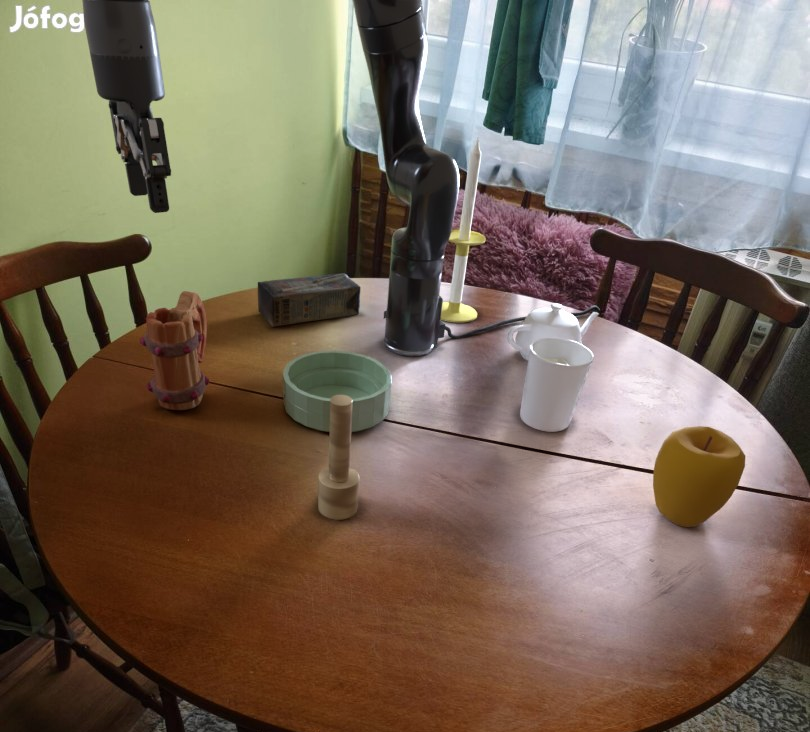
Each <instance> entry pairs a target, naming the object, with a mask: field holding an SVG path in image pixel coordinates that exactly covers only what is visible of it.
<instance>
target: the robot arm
mask: <svg viewBox="0 0 810 732" xmlns="http://www.w3.org/2000/svg"><path fill="white" fill-rule="evenodd" d="M81 2H82V13H83V22H84V29H85V34H86V40H87V45H88V50H89V57H90V61H91V66H92V71H93V77H94V80H95V82H94V83H95V87H96V92H97V95H98V96H99V97H100V98H101V99H103V100H106V101H108V108H109V113H110V119H111V124H112V130H113V137H114V142H115V150H116V152H117V154H118V155H120V159H121V160H122V162H123V163H124V166H125V172H126V177H127V183H128V189H129V193H130V194H131V195H132V196H134V197H139V196H142V197H143V196H147V198H148V200H147V201H148V205H149V210H150V211H151V212H152V213H154V214H159V213H167V212H169V210H170V203H169V202H170V201H169V195H168V190H167V182H166V179H167V178H168V177H171V176H172V169H171V164H170V163H171V162H170V158H169V152H168V144H167V138H166V133H165V132H166V131H165V123H164V121H163V118H162V117H154V115H153V111H152V108H151V103H152V102H158V101H162V100H163V99H164V98H165V95H166V91H165V85H164V84H165V83H164V77H163V76H164V75H163V70H162V63H161V56H160V55H161V54H160V48H159V42H158V35H157V28H156V22H155V18H154V15H153V10H152V5H151V1H150V0H81ZM352 3H353V9H354V14H355V21H356V25H357V30H358V34H359V38H360V43H361V48H362V52H363V56H364V59H365V63H366V66H367V71H368V77H369V81H370V86H371V90H372V96H373V100H374V104H375V108H376V112H377V118H378V123H379V129H380V136H381V147H382V154H383V161H384V170H385V174H386V181H387V184H388V187H389V190H390V192H391V194H392V195H393V197H394V199H396V200H397V201H399V202H400V203H402V204H403V205H405V206H407V207H409V214H408V221H407V225H406V226H405V227H401V228H397V229H396V230H395V231H393V234H392V236H391V245H390V257H389V258H390V260H389V275H388V287H387V300H386V301H387V302H386V309H385V310H383V320H385V326H384V337H383V346H384V348H386V349H387V350H388V351H390V352H392V353H394V354H397V355H401V356H405V357H420V356H421V357H422V356H425V355H428V354H430V353H431V352H432V351H433V350H434V349H435V348H438V343H439V339H441V338H444V337H445V332H447V336H448V337H449V338H451V339H461V338H467V337H470V336H473V335H476V334H478V333H483V332H486V331H489V330H491V329H494V328H497V327H500V326H504V325H507V324H513V323H517V322H523V321H524V320H525V318H526V317H527V316H528V315H526V316H521V317H516V318H510V319H506V320H501V321H498V322H494V323H492V324H489V325H486V326H482V327H479V328H476V329H473V330H470V331H468V332H465V333H463V334H453V333H452V329H451V328H450V327H449V326H448V325H446V323H445V322H443V321H442V320H441V312H442V304H443V302H444V299H443V297H442V296H441V295H440V292H441V284H442V274H443V266H444V257H445V251H446V247H447V244H448V242H449V241H448V240H449V238H450V236H451V232H452V229H454V226H453V225H454V222H455V216H456V211H457V204H458V198H459V191H460V170H459V167H458V163H457V162H456V160H455V159H454V158H453V157H452V156H451V155H449V154H448V153H446V152H444V151H442V150H438V149H437V148H434V147H431V146H429V145H428V143H427V140H426V136H425V133H424V128H423V123H422V117H421V111H420V94H421V87H422V85H423V84H422V83H423V80H424V76H425V71H426V66H427V60H428V51H429V50H428V48H429V45H428V44H429V43H428V34H427V27H426V20H425V14H424V7H423V1H422V0H352ZM153 161H154V162H155V163H156V164H154V163H153ZM593 310H595V312H600V311H601V309H600V308H599V306H597V305H592V306H589V308H587V309H585V310H583V311H577V312H569V313H570V314H572V315H574V316H575V317H579V316H584V315H587V314H589V313H590V312H592V311H593Z"/></svg>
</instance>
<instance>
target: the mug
mask: <svg viewBox="0 0 810 732" xmlns="http://www.w3.org/2000/svg"><path fill="white" fill-rule="evenodd" d="M145 320H146V327H147V328H146V329H147V331H146V332H145V333H144V335H143V336H142V337H141V338H140V339H139V344H140V345H142V346H144V347H145V348H146V349H147V350H148V352H150V355H151V356H150V357H151V361H152V366H153V372H154V375H153V376H152V378H151V380H150V382H148V383H147V384H146V385H145V388H146V389H147V391H149V392H150V393H153V395H154V396H155V398H156V399H157V400H158V404H159V405H160V406H161V407H162V408H164V409H167V410H171V411H187V410H191V409H194V408H196V407H197V406H198V405H200V404H201V402H202V400H203V397H204V396H203V395H204V392H205V391H206V387H207V385H209V383H210V378H209V377H208V376H206V375H205V374H204V372H203V371H202V370H201V369H200V365H199V364H202V363H203V362H204V355H205V351H206V345H207V334H208V333H207V332H208V331H207V329H208V323H207V320H208V319H207V313H206V308H205V306H204V302H203V301H202V298H201V297H200V295H199V294H198V293H197V292H194V291H188V290H184V291H181V292H180V294H179V297H178V300H177V302H176V305H175V307H172V308H170V309H168V308H166V307H160V308H157V309H155V310H154V312H152V311H149V313H147V315H146V317H145Z"/></svg>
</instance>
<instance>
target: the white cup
mask: <svg viewBox="0 0 810 732" xmlns="http://www.w3.org/2000/svg"><path fill="white" fill-rule="evenodd" d="M593 362H594V353H593V351H591V349H590V348H588V347H587V346H586V345H583V344H580V343H577V342H575V341H572V340H568V339H563V338H554V337H548V338H541V339H537V340H535V341H534V342H532V343H531V345H530V353H529V359H528V361H527V367H526V371H525V372H526V373H525V379H524V385H523V390H522V391H523V392H522V397H521V403H520V411H519V416H520V419H521V421H522V422H523V423H524V424H525V425H527V426H529V427H530V428H533V429H535V430H538V431H542V432H547V433H555V432H561V431H565V430H566V429H567V428H568V427H569V426H570V424H571V422H572V419H573V417H574V415H575V412H576V408H577V405H578V403H579V400H580V397H581V394H582V391H583V388H584V385H585V383H586V380H587V377H588V374H589V372H590V368H591V366H592V363H593Z"/></svg>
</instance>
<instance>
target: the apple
mask: <svg viewBox="0 0 810 732" xmlns="http://www.w3.org/2000/svg"><path fill="white" fill-rule="evenodd" d="M745 468H746V454H745V452H744V451H743V449H742V448H741V447H740V445H739V444H738V443H737V442H736V441H735V439H733V438H732V437H731V436H729V435H728V434H726V433H725V432H723V431H721V430H719V429H716V428H713V427H710V426H703V425H702V426H699V425H698V426H686V427H683V428H680V429H677V430H674V431H672V432H671V433H670V434H669V435H668V436H667V437H666V438H665V439H664V440H663V442H662V444H661V446H660V448H659V450H658V452H657V455H656V458H655V461H654V467H653V473H652V488H653V496H654V501H655V506H656V508H657V510H658V512H659V513H660V514H661V515H662V516H663V517H664V518H665V519H667V520H668V521H670V522H671V523H673V524H675V525H676V526H680V527H686V528H692V527H698V526H700V525H702V524H703V523H704V522H706V521H707V520H709V519H710V518H711V517H712V516H714V515H715V514H716V513H717V512H719V511H720V510H721V509H722V508H723V507H724V506H725V505H726V504H727V503H728V501H729V500H730V499H731V498H732V496H733V494H734V492H735V491H736V489H737V488H738V486H739V484H740V481H741V478H742V475H743V473H744V470H745Z"/></svg>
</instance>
